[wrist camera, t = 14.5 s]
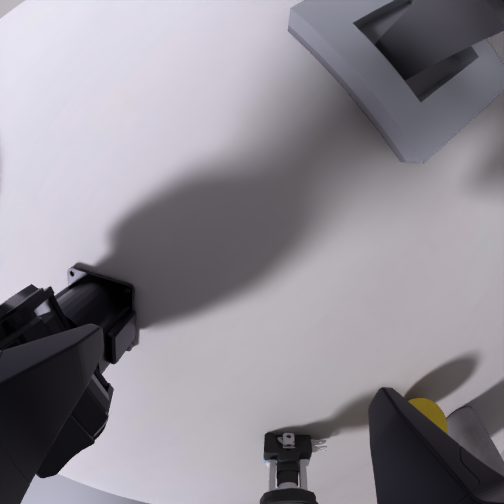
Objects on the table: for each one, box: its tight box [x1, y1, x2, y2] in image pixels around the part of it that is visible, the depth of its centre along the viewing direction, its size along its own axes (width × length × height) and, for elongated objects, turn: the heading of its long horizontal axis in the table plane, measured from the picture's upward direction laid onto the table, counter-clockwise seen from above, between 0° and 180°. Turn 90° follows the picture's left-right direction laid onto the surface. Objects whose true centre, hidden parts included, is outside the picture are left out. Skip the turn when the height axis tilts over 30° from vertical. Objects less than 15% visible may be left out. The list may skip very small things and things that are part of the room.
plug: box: [374, 0, 504, 80], centre depth 9 cm, size 4×3×13 cm
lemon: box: [408, 398, 448, 434], centre depth 20 cm, size 6×6×8 cm
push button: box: [260, 433, 327, 504], centre depth 22 cm, size 7×5×10 cm
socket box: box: [288, 0, 504, 163], centre depth 14 cm, size 12×12×4 cm
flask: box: [446, 407, 504, 476], centre depth 17 cm, size 15×6×20 cm, turn 13°
